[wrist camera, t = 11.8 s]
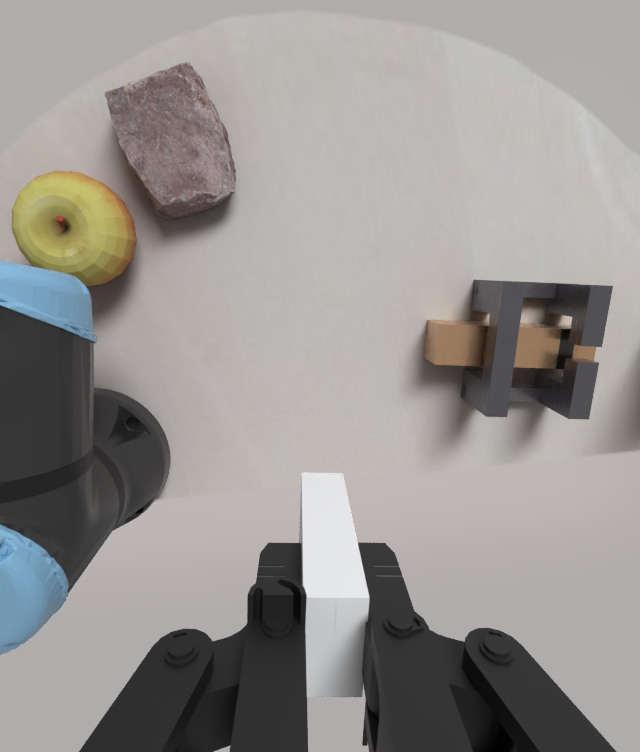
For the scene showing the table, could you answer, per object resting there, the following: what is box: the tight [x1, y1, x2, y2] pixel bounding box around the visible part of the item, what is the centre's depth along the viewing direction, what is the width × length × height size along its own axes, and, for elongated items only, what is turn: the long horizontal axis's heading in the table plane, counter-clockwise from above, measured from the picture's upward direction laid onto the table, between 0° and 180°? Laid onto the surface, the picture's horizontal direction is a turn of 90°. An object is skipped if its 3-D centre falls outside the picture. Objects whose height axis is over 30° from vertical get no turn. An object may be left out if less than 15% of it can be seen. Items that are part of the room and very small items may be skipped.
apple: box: [12, 171, 136, 286], centre depth 41 cm, size 10×10×8 cm
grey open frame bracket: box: [461, 280, 613, 419], centre depth 46 cm, size 10×12×7 cm
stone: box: [105, 62, 236, 220], centre depth 42 cm, size 12×9×5 cm
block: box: [424, 320, 596, 369], centre depth 47 cm, size 16×4×4 cm, turn 88°
